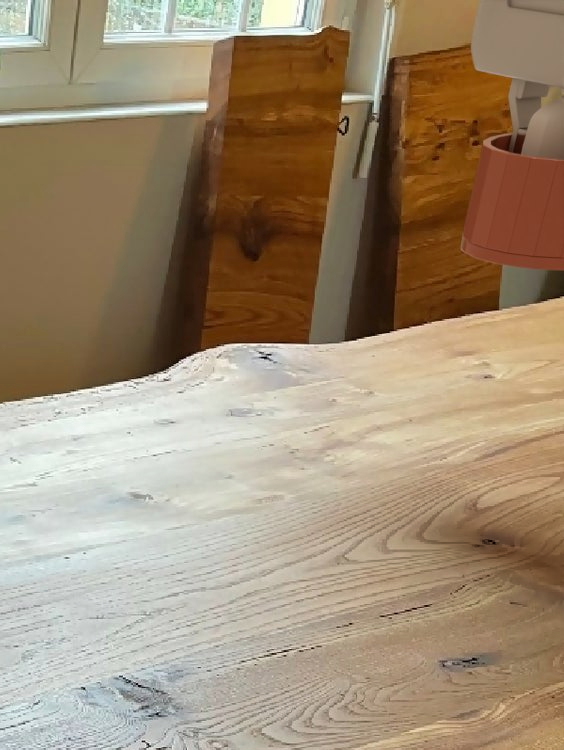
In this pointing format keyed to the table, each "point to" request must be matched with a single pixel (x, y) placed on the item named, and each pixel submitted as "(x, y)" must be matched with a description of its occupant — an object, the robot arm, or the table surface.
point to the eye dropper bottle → (546, 131)
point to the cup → (516, 209)
